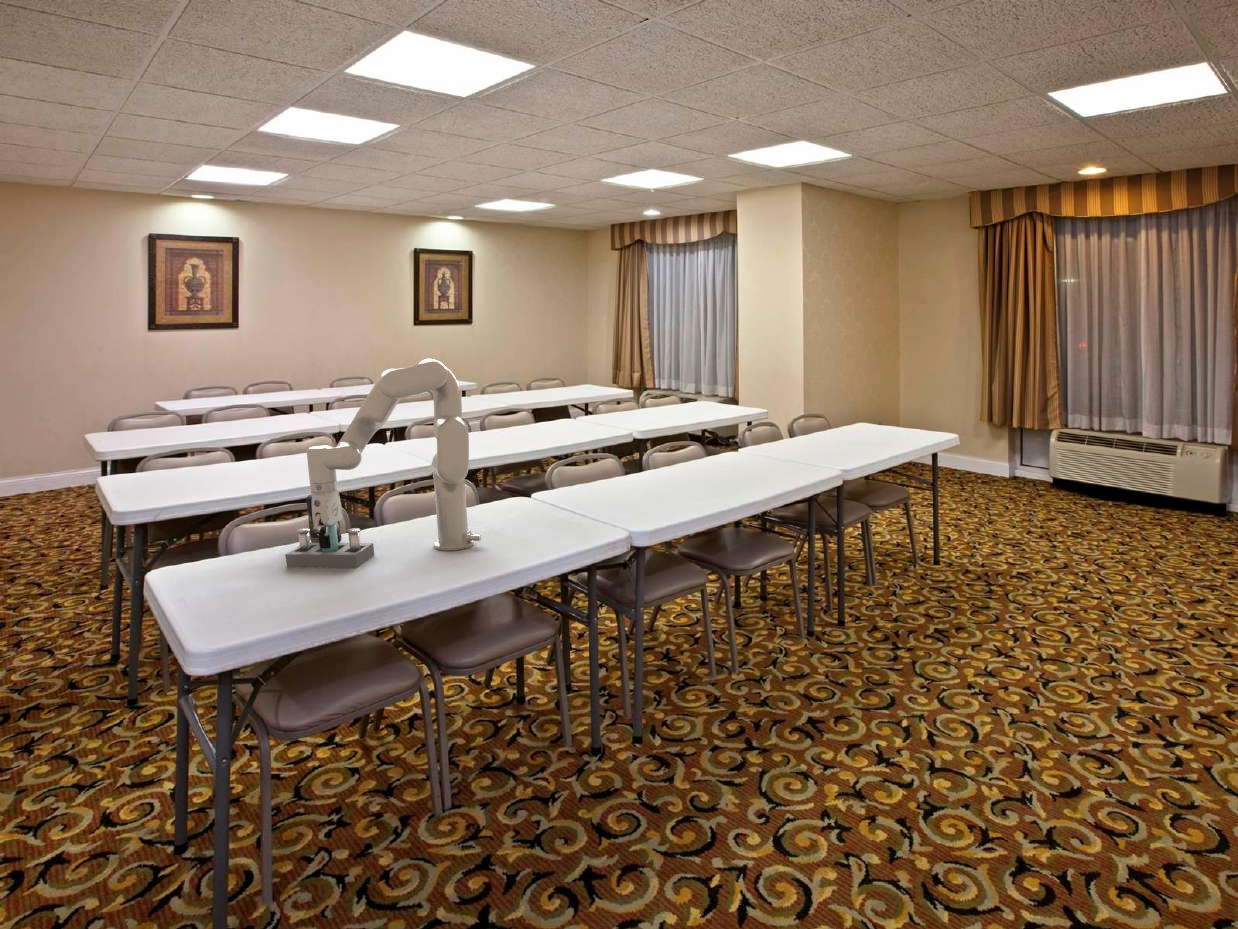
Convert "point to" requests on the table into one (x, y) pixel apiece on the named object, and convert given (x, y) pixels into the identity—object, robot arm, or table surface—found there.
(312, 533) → the canister
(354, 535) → the plunger
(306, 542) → the plunger
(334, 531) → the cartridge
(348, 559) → the housing
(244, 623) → the table surface
